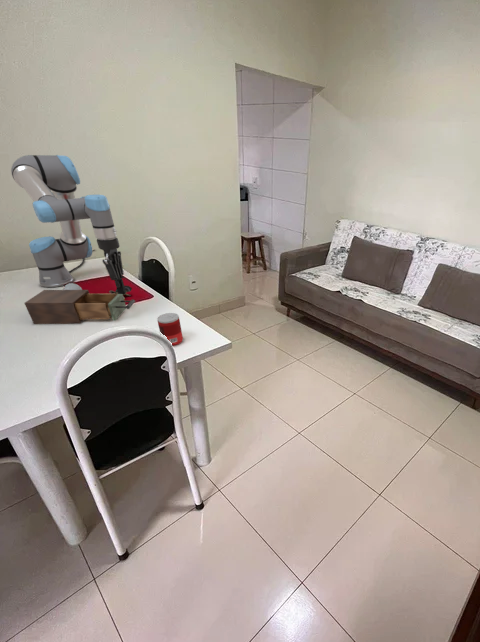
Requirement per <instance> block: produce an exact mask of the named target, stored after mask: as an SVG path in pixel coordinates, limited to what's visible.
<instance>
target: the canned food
mask: <svg viewBox="0 0 480 642" xmlns="http://www.w3.org/2000/svg"><path fill="white" fill-rule="evenodd" d="M156 321H157V326H158V330H159V333H160V332H161V333H162V334H163V335H165V336H166V337H167V339H168V340H169V341H170V342H171V343H172V345H173V346H172V347H175V346H179V345H180V344H182V342H183V340H184V337H183V331H182V326H181V321H180V316H179V314H178V313H176V312H166V313H162V314H160V315H158V316H157V318H156Z"/></svg>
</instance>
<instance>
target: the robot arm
mask: <svg viewBox="0 0 480 642" xmlns="http://www.w3.org/2000/svg"><path fill="white" fill-rule="evenodd" d="M10 172H11V173H10V174H11V177H12V179H13V180H14V181H15V183H16V184H17V185H18V186H19V187H20V188H22V189H23V190H25V192H26V193H27V195H28V196H29V197H30V198H31V200H32V201H33V202H32V208H33V211H34V213H35V216H36V217H37V219H38V221H39V222H41V223H43V224H45V223H46V224H47V223H51V224H52V223H53V224H54V223H59V224H60V225H59V226H60V228H61V232H60V233H59V238H55V237H54V236H50V235H49V236H42V237H38V238H34V239H33V240H31V241H30V242H29V244H28V247H29V250H30V253H31V254H32V257H33V259H34V262H35V265H36V266H37V269H38V282H39V285H40V286H41V287H43V288H59V287H65V285H67V284H69V283H74V277H73V275H72V274H71V273H72V272H73V271H75V270H77V269H78V268H80V267H81V266H82V265H84V263H85V260H86V259H88V258H91V257H92V256H93V251H95V250H96V249H94V250H92V249H93V246H92V242H91V239H90V237H89V236H87V235H86V234H85V233H84V232H82V227H81V222H80V220H90V222H91V226H92V230H93V234H94V236H95V239H96V243H97V246H98V249H99V250H102V251H103V256H104V259H102V260H101V262H102V263H103V265H104V266H105V269H106V271H107V273H108V275H109V276H108V277H109V278H110V281H114V284H115V288H116V289H117V291H118V294H125V293H126V291H125V287H124V286H125V284H124V283H125V282H124V279H125V274H124V268H123V267H124V266H123V261H122V252H121V251H120V250H119V251H118V249H119V248H120V242H119V239H118V235H117V232H118V231H117V229H116V228H115V227H116V226H115V222H114V219H113V216H112V211H111V205H110V203H109V201H108V198H107V196H106V195H104V194H88V195H84V196H81V197H77V198H76V197H75V192H76V191H77V189H78V188H77V187H78V186H77V185H80V184H81V178H80V176H79V173H78V170H77V168H76V166H75V164H74V163H73V161H72V160H71V158H70V157H68V156H67V155H58V154H55V155H53V154H52V155H51V154H49V155H48V154H47V155H45V154H43V155H41V154H26V155H22V156H20V157H19V158H17V159H16V160H14V162H13V163H12V165H11V169H10ZM78 260H82V261H81V263H80V264H79V265H78V266H76V267H74V268H72V269H70V270H69V271H68V269H67V268H66V265H65V264H64V262H71V261H78ZM126 294H127V293H126Z"/></svg>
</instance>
